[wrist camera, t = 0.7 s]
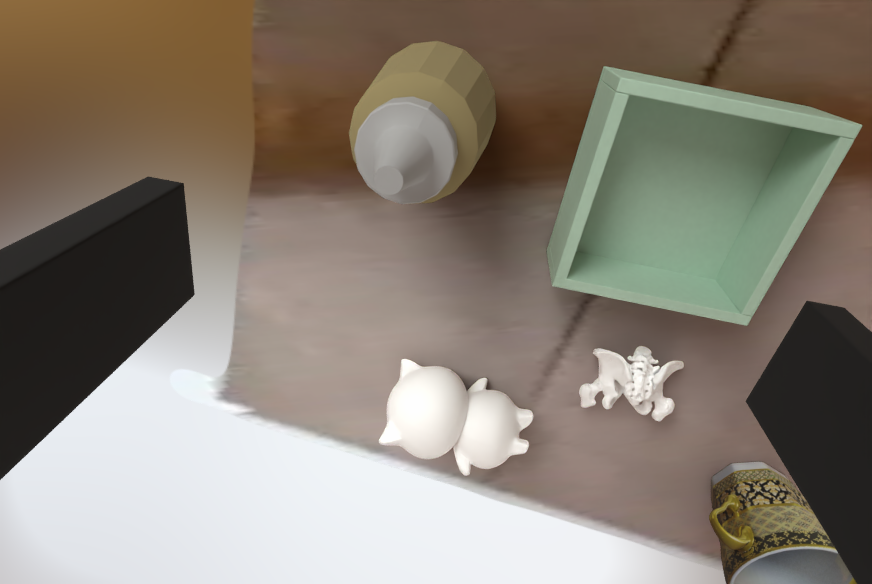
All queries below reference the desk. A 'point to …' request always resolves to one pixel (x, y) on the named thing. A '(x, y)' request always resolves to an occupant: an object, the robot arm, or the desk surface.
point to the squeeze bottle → (423, 123)
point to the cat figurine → (453, 418)
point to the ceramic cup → (770, 530)
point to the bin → (690, 194)
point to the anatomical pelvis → (620, 377)
